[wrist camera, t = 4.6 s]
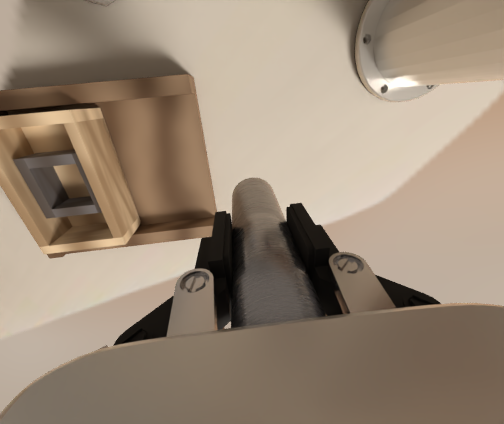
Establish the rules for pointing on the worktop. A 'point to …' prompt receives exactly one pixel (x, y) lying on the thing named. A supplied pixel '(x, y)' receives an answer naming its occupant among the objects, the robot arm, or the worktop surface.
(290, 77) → the worktop surface
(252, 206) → the handle peg
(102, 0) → the flask
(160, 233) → the bay
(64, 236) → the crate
